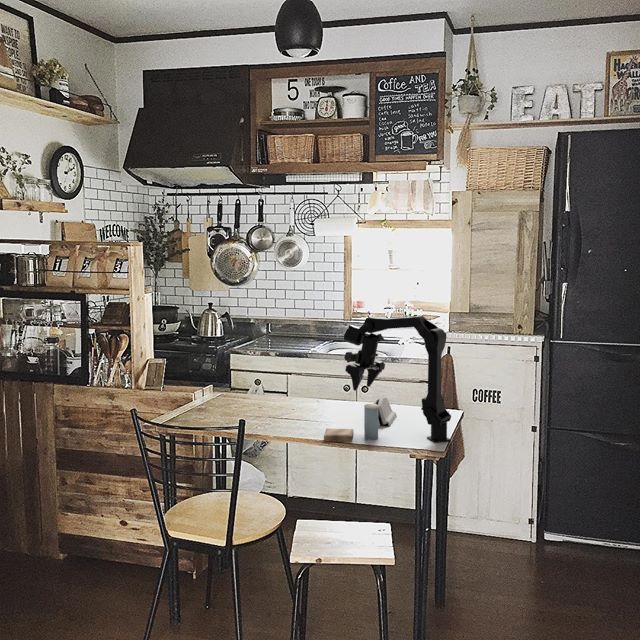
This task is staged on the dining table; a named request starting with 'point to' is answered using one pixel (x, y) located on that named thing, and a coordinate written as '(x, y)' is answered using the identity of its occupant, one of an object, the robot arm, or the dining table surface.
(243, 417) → the dining table surface
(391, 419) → the hinge
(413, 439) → the dining table surface
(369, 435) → the tin
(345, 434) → the stand
